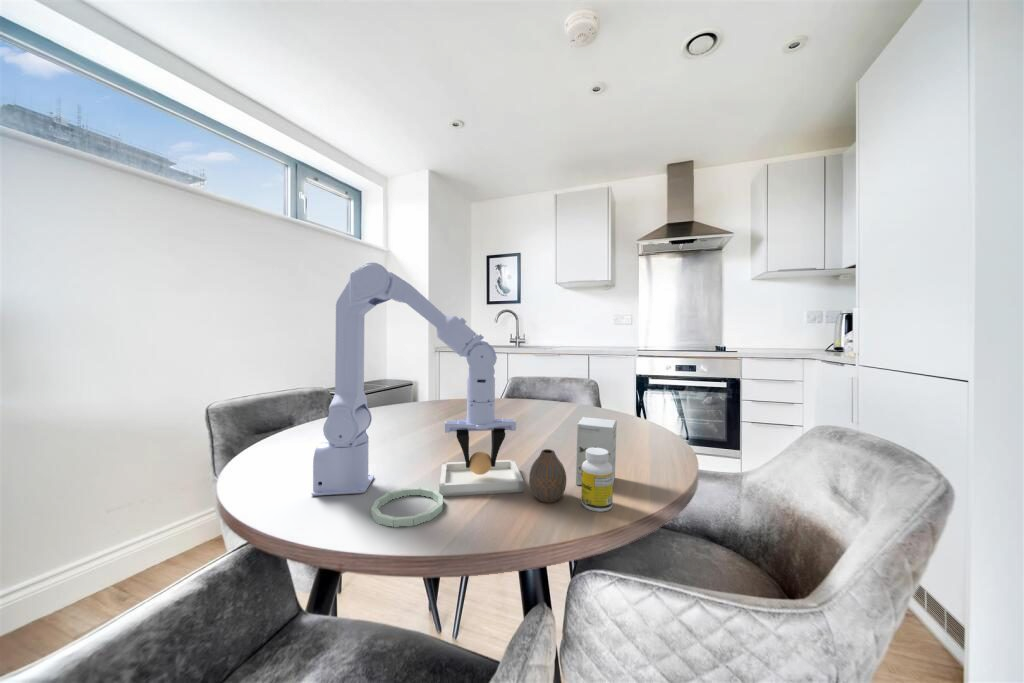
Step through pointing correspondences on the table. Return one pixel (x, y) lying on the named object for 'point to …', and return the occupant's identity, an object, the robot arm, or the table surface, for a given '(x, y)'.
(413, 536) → the table surface
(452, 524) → the table surface
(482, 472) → the ball
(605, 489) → the supplement bottle
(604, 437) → the supplement box
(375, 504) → the ring
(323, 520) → the table surface
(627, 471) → the table surface
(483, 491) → the tray
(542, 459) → the vase
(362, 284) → the robot arm
